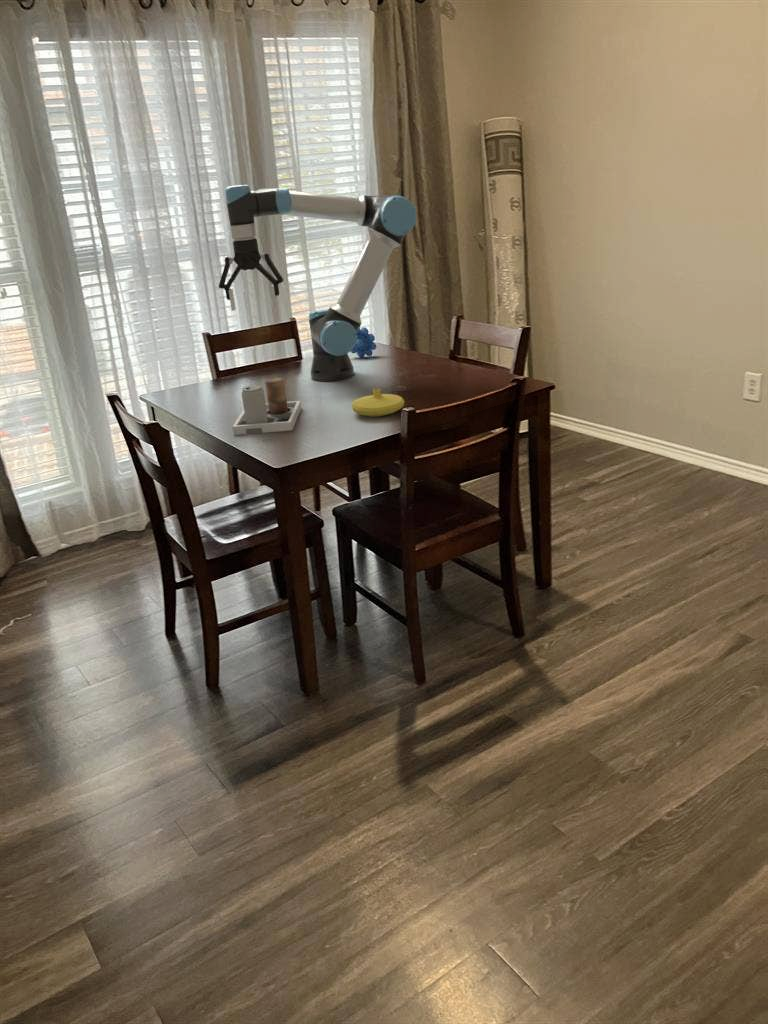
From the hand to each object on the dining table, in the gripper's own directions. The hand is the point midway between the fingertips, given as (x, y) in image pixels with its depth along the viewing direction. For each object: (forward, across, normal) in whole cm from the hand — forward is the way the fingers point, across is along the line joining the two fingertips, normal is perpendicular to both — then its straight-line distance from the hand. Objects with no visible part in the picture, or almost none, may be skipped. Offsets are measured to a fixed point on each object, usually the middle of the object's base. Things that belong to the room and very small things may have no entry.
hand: (254, 308), depth 275 cm
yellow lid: (+29, -38, +30) cm, 56 cm away
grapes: (+29, -29, -44) cm, 60 cm away
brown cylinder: (+29, -8, +25) cm, 39 cm away
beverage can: (+29, -2, +35) cm, 45 cm away
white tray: (+29, -5, +30) cm, 42 cm away
